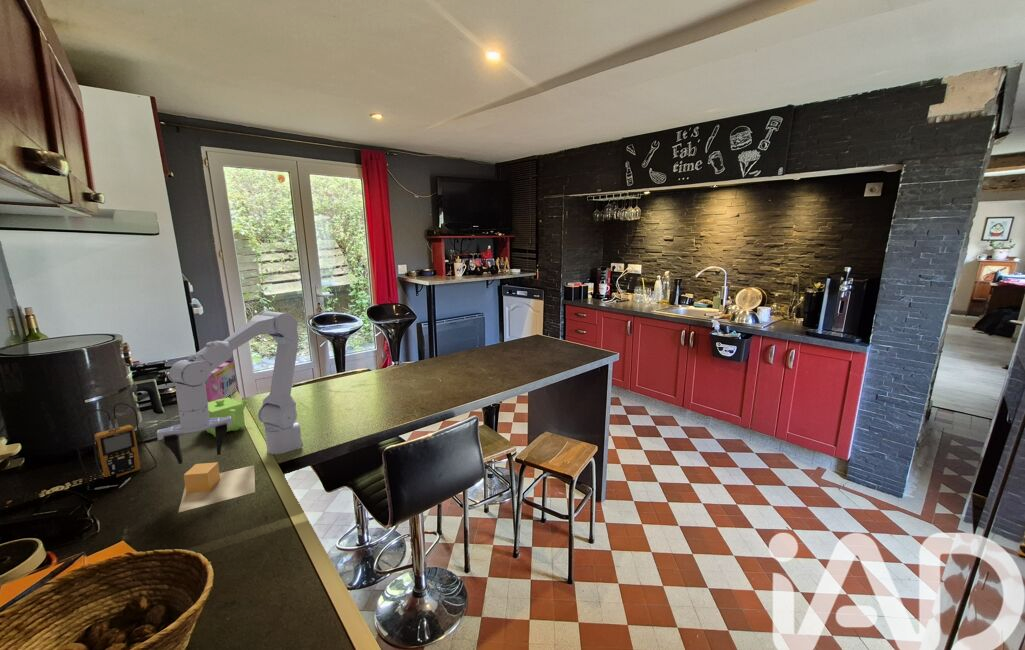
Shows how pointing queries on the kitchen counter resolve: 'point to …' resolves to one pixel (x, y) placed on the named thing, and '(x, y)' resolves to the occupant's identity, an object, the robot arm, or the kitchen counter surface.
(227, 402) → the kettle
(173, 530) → the kitchen counter surface
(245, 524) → the kitchen counter surface
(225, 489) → the board
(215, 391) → the gum box
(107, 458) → the multimeter
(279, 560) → the kitchen counter surface
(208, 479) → the tilted amber cube
